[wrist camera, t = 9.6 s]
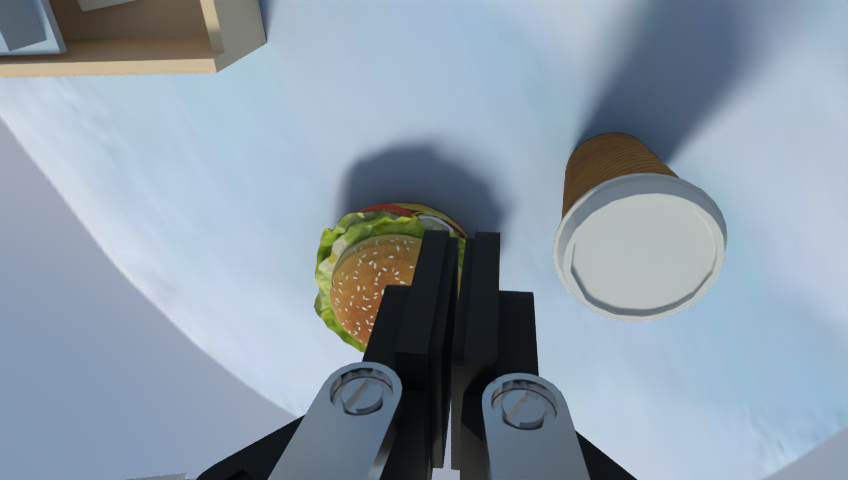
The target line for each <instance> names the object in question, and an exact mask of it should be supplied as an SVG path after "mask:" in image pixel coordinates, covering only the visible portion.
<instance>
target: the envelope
mask: <svg viewBox="0 0 848 480" xmlns="http://www.w3.org/2000/svg"><path fill="white" fill-rule="evenodd" d="M77 1H78V3H79V5H80V8H81V10H82V12H85V11H89V10H94V9H98V8H103V7H107V6H112V5H117V4H121V3H126V2H130V1H135V0H77Z"/></svg>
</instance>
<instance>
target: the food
mask: <svg viewBox="0 0 848 480" xmlns="http://www.w3.org/2000/svg"><path fill="white" fill-rule="evenodd" d="M425 230H449V232H450V237H458V238H459V271H458V298H459V290H460V282H461V274H462V265H463V257H464V249H465V241H466V238H468V236H467V234H466V233H465V232H464V230H463V229H462V228H461V227H460V226H459V225H458V224H456V223H455V222H454V221H453V220H451V219H450V218H449V217H447V216H446V215H445V214H444V213H441V212H439V211H437V210H434V209H432V208H429V207H427V206H425V205H422V204H409V203H394V204H380V205H375V206H370V207H367V208H365V209H363V210H360V211H358V212H356V213H350V214H347V215H345V216H343V217H342V218H341V219H340V221H339V222H338V223H337V225H336V226H335V228H334V230H332V229H329V228H326V229H325V230H324V232H323V235H322V237H321V244H320V247H319V250H318V254H317V265H316V271H315V282H316V283H317V284H318V286H319V293H318V295H317V297H316V300H315V305H314V308H315V310H316V313H317V314H318V315H319V317H321V318H322V319H323V320H324V322H325V324H326V325H327V327H328V328H330V329H331V330H332V331H334V332H335V333H336V334H337V335H338V336H340V338H341V339H342V340H343V341H344V342H346V343H348V344H350V345H352V346H353V347H355V348H356V349H358V350H359V351H360V352H364V353H365V350H366V347H367V344H368V341H369V338H370V335H371V331H372V328H373V325H374V322H375V319H376V315H377V312H378V309H379V306H380V303H381V299H382V296H383V293H384V290H385V288H386V285H388V284H394V285H411V283H412V279H413V275H414V271H415V267H416V263H417V259H418V255H419V251H420V247H421V243H422V239H423V235H424V231H425Z"/></svg>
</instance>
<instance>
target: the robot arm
mask: <svg viewBox="0 0 848 480" xmlns="http://www.w3.org/2000/svg"><path fill="white" fill-rule="evenodd" d="M499 261H500V233H495V232H476V235H475V238H466V241H465V249H464V257H463V265H462V274H461V282H460V290H459V298H458V271H459V238H458V237H450V232H449V230H425V231H424V235H423V239H422V243H421V247H420V251H419V255H418V259H417V263H416V267H415V271H414V275H413V279H412V283H411V285H394V284H388V285H386V288H385V290H384V293H383V296H382V299H381V303H380V306H379V309H378V312H377V315H376V319H375V322H374V325H373V328H372V331H371V335H370V338H369V341H368V344H367V347H366V350H365V354H364V357H363V360H362V362H358V363H352V364H349V365H347V366H344V367H342V368H340V369H338V370H337V371H335V372H334V373H333V374H331V375H330V376H329V378H328V379H327V380H326V381H325V383H324V384H323V386H322V387H321V389H320V391H319V393H318V394H317V396H316V398H315V399H314V401H313V403H312V405H311V406H310V408H309V410H308V411H307V413H306V414H305V415H304V416H302V417H300V418H298V419H296V420H294V421H293V422H291V423H289V424H287V425H285V426H284V427H282V428H280V429H278V430H276V431H275V432H273V433H271V434H269V435H267V436H265V437H264V438H262V439H260V440H259V441H256V442H255V443H253V444H251V445H249V446H248V447H246V448H244V449H242V450H240V451H238V452H236V453H235V454H233V455H231V456H229V457H227V458H226V459H224V460H222V461H220V462H218V463H217V464H215V465H213V466H212V467H210V468H209V469H207V470H206V471H204V472H203V473H202V474H201V475H200V476H199V477H198V478H194V479H189V477H188V475H187V473H181V474H172V475H164V476H155V477H146V478H137V479H129V480H431V479H432V471H433V468H443V464H444V456H445V447H446V439H447V430H448V420H449V412H450V403H451V469H454V470H460V480H637V479H636V478H634V477H633V476H632V475H631V474H629V473H628V472H627V471H626V470H624V469H623V468H622V467H621V466H619V465H618V464H617V463H616V462H614V461H613V460H612V459H611V458H609V457H608V456H607V455H606V454H604V453H603V452H602V451H601V450H599V449H598V448H597V447H596V446H594V445H593V444H592V443H591V442H589V441H588V440H587V439H585V438H584V437H583V436H582V435H580V434H579V433H578V432H577V431H575V429H574V425H573V422H572V419H571V416H570V413H569V409H568V406H567V403H566V401H565V399H564V397H563V395H562V393H561V392H560V391H559V390H558V389H557V388H556V387H555V386H554V385H553V384H552V383H550V382H549V381H547V380H545V379H543V378H542V377H539V373H538V357H537V341H536V326H535V310H534V296H533V292H519V291H501V290H499Z"/></svg>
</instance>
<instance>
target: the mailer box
mask: <svg viewBox="0 0 848 480" xmlns="http://www.w3.org/2000/svg"><path fill="white" fill-rule="evenodd" d="M48 1H49V3H50V6H51V9H52V11H53V14H54V17H55V19H56V22H57V25H58V27H59V30H60V33H61V35H62V38H63V41H64V43H65V46H66V49H67V52H64V53H61V54H29V55H0V78H15V77H57V76H98V75H139V74H181V73H217V72H219V71H220V70H222V69H224V68H225V67H227V66H229V65H231V64H232V63H234V62H236V61H237V60H239V59H241V58H242V57H244V56H246V55H247V54H249V53H251V52H252V51H254V50H256V49H257V48H259V47H261V46H262V45H264V44H266V43H267V42H266V37H265V32H264V27H263V21H262V16H261V11H260V6H259V1H258V0H135V1H130V2H126V3H121V4H117V5H112V6H107V7H103V8H98V9H94V10H89V11H85V12H82V10H81V8H80V5H79V3H78V1H77V0H48Z"/></svg>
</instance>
